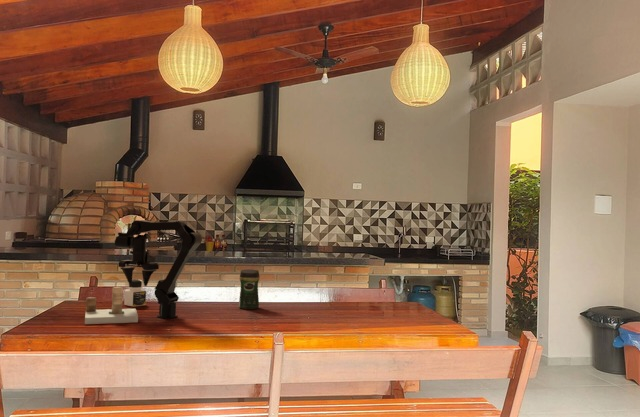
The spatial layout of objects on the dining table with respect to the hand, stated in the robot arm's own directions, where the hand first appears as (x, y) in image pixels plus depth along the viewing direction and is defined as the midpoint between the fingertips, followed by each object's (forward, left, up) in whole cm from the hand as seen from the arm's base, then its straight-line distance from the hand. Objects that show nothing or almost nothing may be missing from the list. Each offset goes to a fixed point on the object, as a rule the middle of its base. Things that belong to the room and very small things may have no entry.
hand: (137, 284), depth 244 cm
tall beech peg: (0, +11, -13) cm, 17 cm away
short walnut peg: (+11, +15, -10) cm, 21 cm away
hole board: (+1, +13, -13) cm, 18 cm away
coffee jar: (-28, -44, -13) cm, 54 cm away
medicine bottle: (+18, -16, -13) cm, 27 cm away
